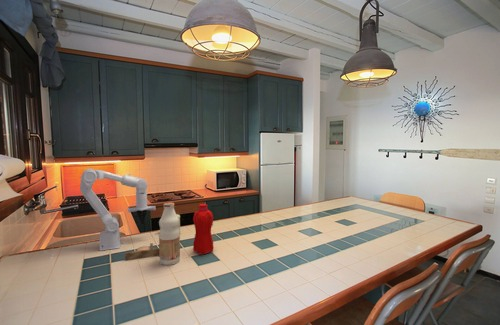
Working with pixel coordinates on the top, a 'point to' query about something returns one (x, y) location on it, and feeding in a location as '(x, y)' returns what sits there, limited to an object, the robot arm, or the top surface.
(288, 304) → the top surface
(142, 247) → the tan rounded pebble
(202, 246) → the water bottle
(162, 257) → the fruit juice
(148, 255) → the mortise joint
